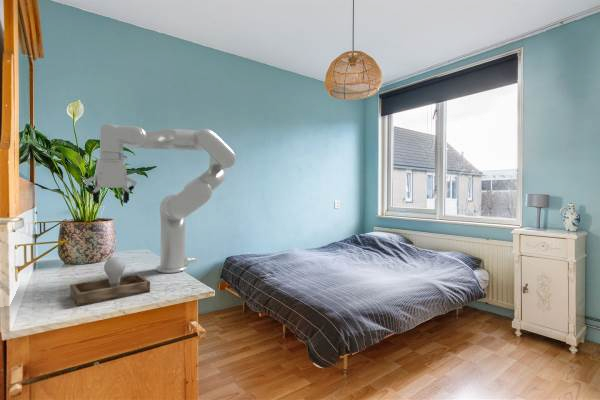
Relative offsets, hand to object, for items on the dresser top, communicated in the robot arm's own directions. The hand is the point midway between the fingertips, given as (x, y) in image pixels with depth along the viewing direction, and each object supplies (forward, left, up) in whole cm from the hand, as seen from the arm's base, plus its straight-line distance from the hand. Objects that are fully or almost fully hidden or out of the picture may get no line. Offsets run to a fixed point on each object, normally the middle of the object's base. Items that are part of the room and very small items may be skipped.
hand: (111, 203), depth 120 cm
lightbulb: (+4, +21, -28) cm, 35 cm away
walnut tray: (+5, +21, -28) cm, 36 cm away
